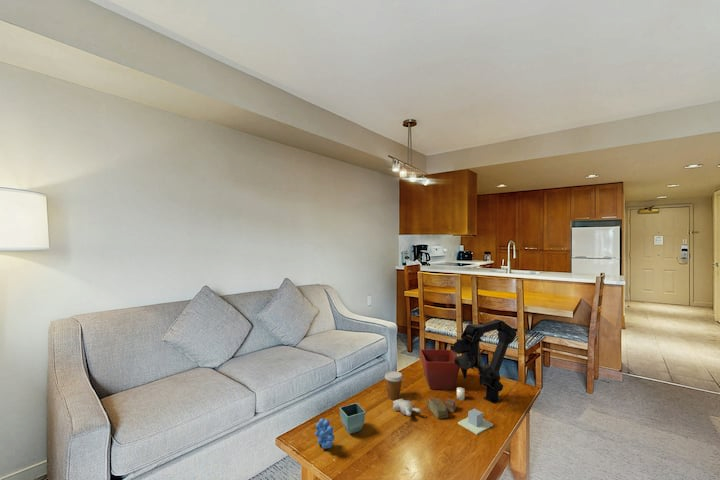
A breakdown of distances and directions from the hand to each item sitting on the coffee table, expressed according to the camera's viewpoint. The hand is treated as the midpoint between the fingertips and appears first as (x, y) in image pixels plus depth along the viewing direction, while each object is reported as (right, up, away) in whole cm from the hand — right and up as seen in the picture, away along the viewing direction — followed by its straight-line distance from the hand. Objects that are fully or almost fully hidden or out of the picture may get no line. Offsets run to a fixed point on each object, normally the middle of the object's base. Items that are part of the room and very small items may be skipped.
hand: (472, 381), depth 163 cm
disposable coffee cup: (-39, -12, +8) cm, 41 cm away
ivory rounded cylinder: (-4, -12, +7) cm, 15 cm away
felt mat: (-4, -12, -16) cm, 21 cm away
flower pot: (-60, -12, -21) cm, 65 cm away
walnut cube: (-12, -12, -3) cm, 18 cm away
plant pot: (-11, -12, +23) cm, 28 cm away
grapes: (-70, -12, -33) cm, 78 cm away
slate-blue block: (-4, -12, -16) cm, 20 cm away
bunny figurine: (-35, -12, -6) cm, 37 cm away
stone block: (-19, -12, -7) cm, 24 cm away
